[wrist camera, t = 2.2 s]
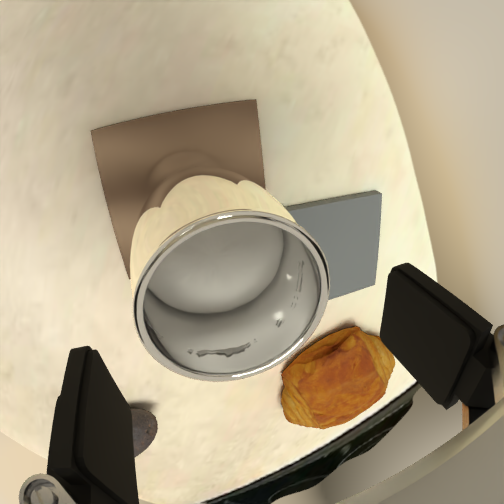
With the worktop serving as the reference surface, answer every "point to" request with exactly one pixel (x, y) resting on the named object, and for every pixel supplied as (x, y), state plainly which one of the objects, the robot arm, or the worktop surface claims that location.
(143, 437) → the perforated stone tool
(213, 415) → the worktop surface
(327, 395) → the croissant
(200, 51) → the worktop surface
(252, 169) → the dot tile
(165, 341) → the beer glass
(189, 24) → the worktop surface
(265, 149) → the worktop surface
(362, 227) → the rubber mat
